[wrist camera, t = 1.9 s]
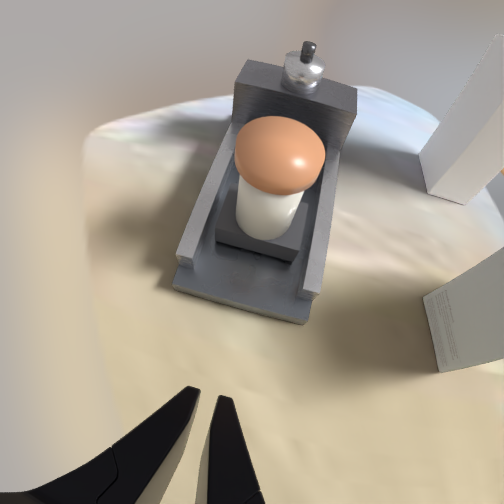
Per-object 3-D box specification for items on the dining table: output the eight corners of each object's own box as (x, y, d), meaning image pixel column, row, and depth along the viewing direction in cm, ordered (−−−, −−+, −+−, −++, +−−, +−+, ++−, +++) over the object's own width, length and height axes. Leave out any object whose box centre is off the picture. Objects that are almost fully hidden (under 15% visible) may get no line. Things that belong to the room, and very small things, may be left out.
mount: (302, 325, 24) (339, 294, 16) (174, 289, 24) (156, 243, 16) (333, 140, 32) (357, 83, 25) (243, 115, 32) (250, 54, 25)
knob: (292, 267, 23) (331, 196, 15) (213, 245, 24) (212, 163, 15) (303, 213, 26) (338, 132, 17) (231, 193, 26) (238, 106, 17)
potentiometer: (316, 98, 23) (328, 58, 19) (277, 87, 23) (285, 46, 19) (320, 79, 24) (331, 42, 21) (284, 69, 24) (292, 32, 21)
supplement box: (437, 375, 23) (551, 346, 11) (420, 295, 26) (519, 230, 14) (488, 353, 24) (587, 318, 12) (471, 284, 27) (560, 227, 15)
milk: (417, 154, 33) (506, 8, 13) (455, 167, 33) (546, 40, 14) (427, 195, 31) (542, 39, 11) (466, 207, 31) (580, 76, 11)
